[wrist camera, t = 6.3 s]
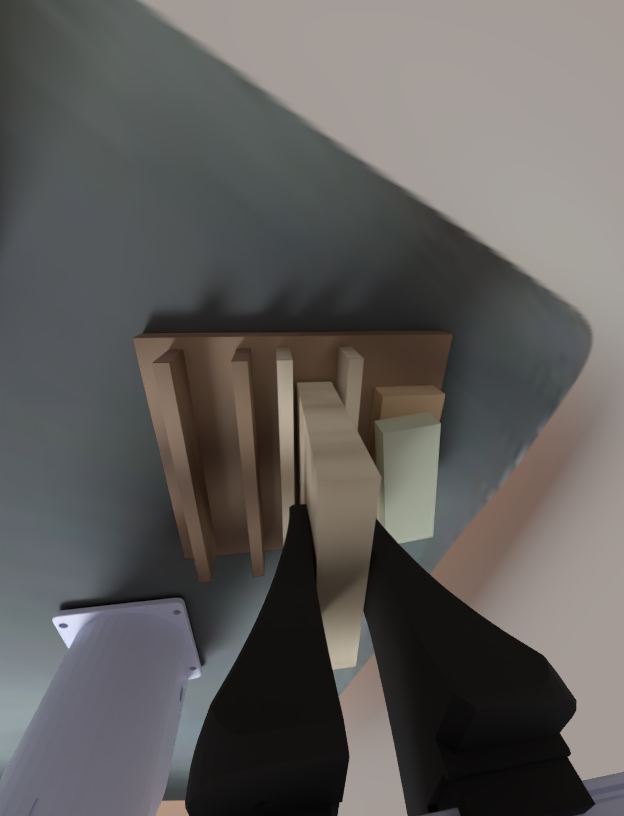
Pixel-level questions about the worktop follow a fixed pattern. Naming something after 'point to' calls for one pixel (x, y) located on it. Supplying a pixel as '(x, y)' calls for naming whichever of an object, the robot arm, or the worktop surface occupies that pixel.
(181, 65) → the worktop surface
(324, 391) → the tan wooden block
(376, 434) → the offcut top
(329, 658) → the robot arm
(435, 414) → the block
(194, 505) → the rack
